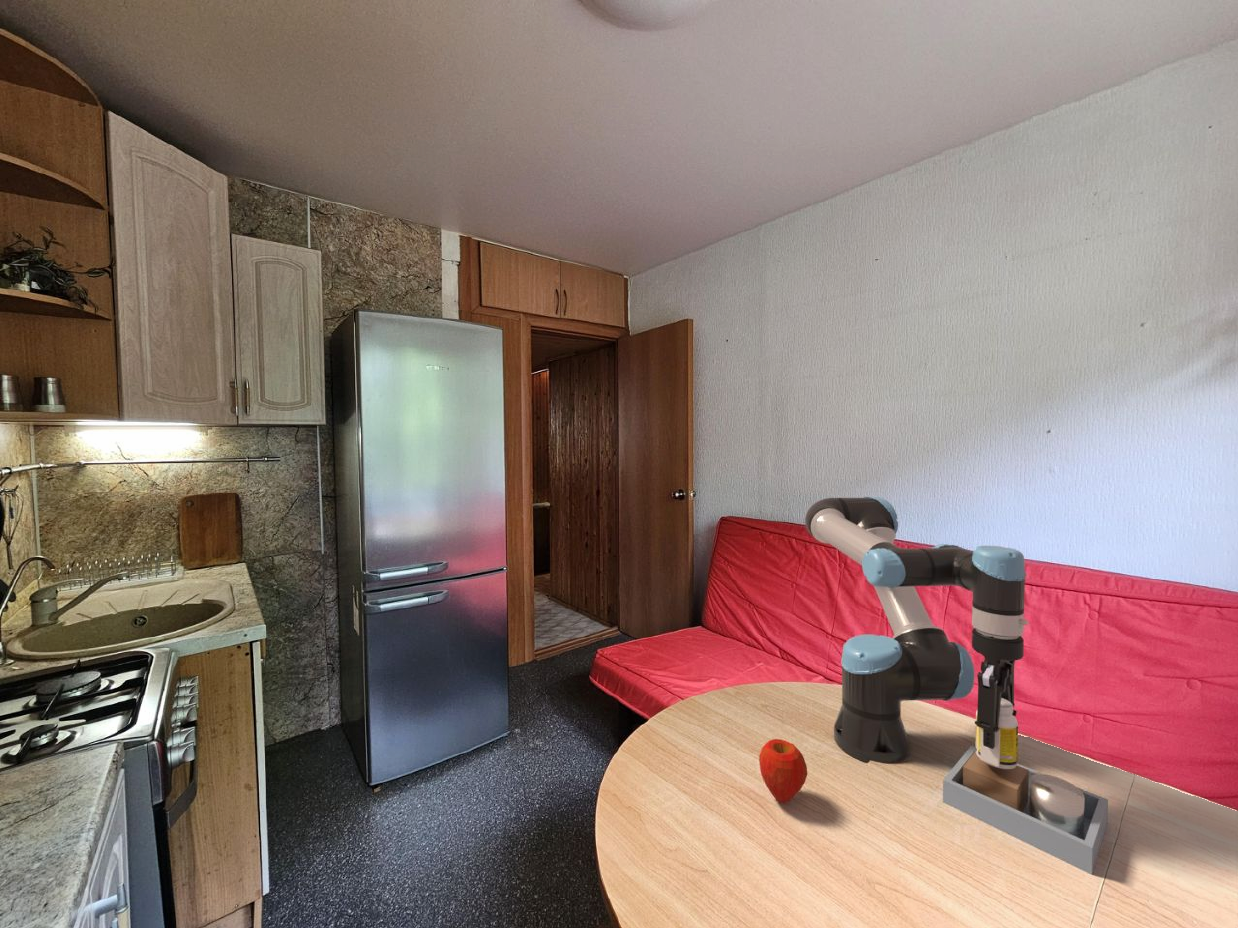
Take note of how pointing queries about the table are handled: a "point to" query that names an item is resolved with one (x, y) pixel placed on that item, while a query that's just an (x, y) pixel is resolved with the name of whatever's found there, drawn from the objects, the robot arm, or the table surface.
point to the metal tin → (1057, 804)
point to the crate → (1031, 819)
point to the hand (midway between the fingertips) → (995, 754)
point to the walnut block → (997, 782)
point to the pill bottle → (1004, 737)
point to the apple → (782, 769)
